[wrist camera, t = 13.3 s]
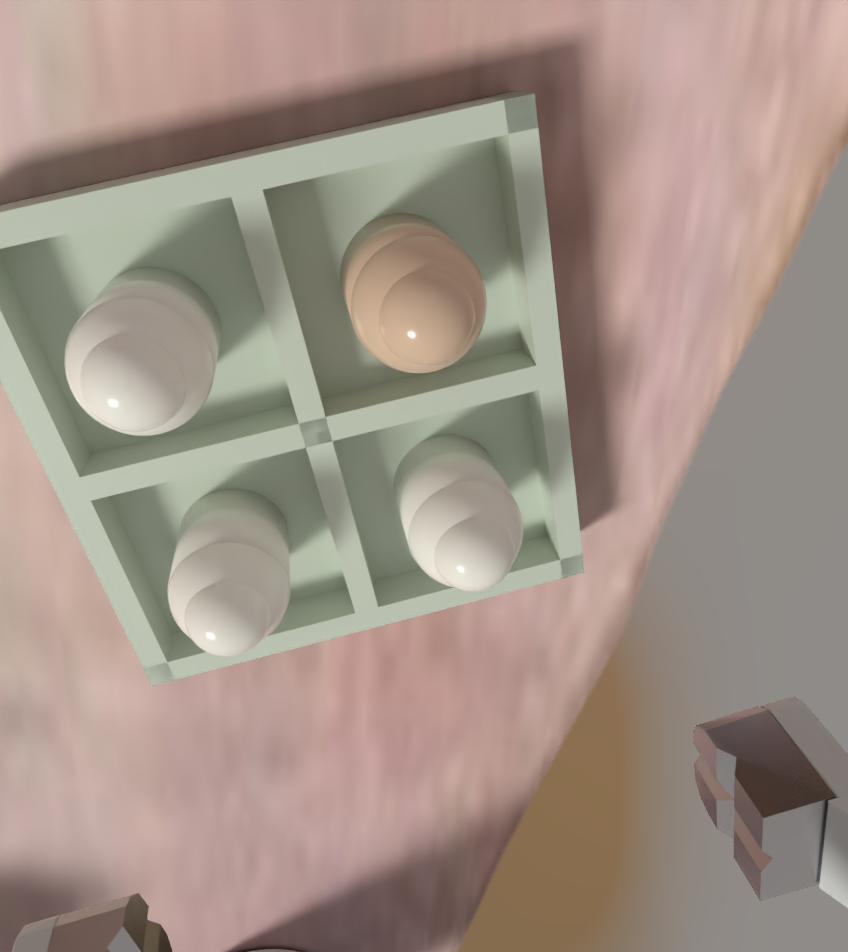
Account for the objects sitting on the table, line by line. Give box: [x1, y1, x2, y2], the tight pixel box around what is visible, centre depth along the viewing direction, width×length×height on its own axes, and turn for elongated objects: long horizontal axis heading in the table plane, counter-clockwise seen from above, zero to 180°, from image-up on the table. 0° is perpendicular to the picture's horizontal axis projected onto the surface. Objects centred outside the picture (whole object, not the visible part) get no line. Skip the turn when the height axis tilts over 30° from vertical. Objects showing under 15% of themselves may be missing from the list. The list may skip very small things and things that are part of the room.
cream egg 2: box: [167, 489, 291, 656], centre depth 29 cm, size 4×4×7 cm
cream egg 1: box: [64, 267, 221, 436], centre depth 24 cm, size 4×4×7 cm
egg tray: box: [0, 91, 584, 686], centre depth 29 cm, size 19×19×2 cm
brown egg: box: [340, 213, 487, 373], centre depth 25 cm, size 4×4×7 cm
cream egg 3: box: [393, 435, 523, 592], centre depth 29 cm, size 4×4×7 cm
